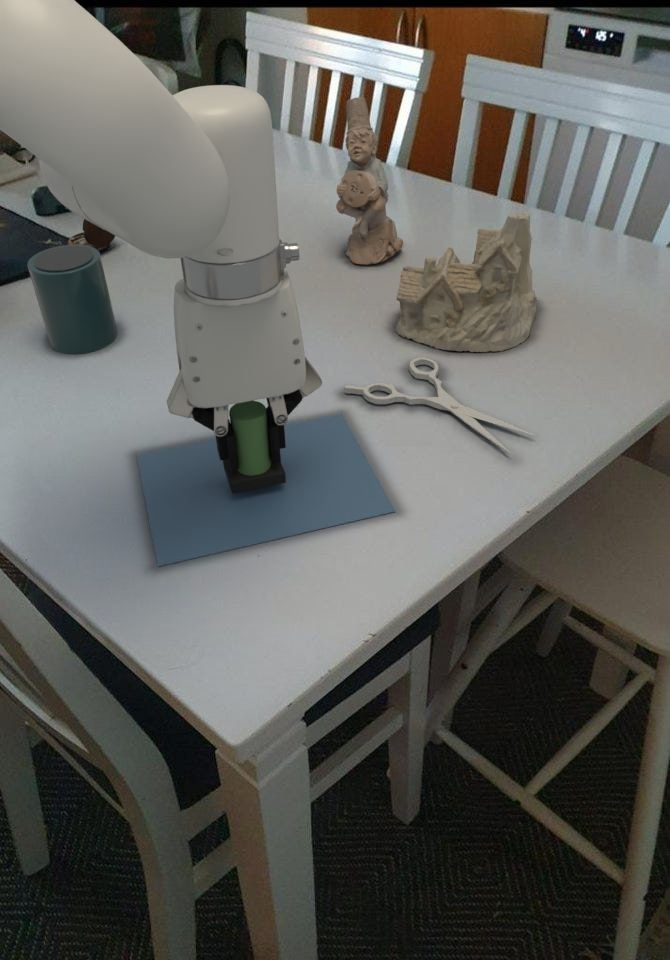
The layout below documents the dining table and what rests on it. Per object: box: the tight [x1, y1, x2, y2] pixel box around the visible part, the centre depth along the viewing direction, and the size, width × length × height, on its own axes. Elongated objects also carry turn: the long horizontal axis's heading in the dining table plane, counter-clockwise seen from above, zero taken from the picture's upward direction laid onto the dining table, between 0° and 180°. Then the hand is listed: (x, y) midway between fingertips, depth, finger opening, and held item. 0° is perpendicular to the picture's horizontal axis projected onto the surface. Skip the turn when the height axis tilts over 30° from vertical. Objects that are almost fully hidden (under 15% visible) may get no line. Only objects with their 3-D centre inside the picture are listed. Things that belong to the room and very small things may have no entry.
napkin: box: [136, 413, 396, 568], centre depth 75 cm, size 21×16×1 cm
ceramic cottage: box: [395, 211, 538, 353], centre depth 94 cm, size 16×16×15 cm
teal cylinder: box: [27, 244, 119, 355], centre depth 95 cm, size 8×8×10 cm
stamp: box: [223, 400, 286, 493], centre depth 72 cm, size 5×4×7 cm
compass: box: [65, 218, 116, 253], centre depth 115 cm, size 8×8×7 cm
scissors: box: [343, 357, 537, 457], centre depth 83 cm, size 11×1×20 cm
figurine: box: [335, 96, 404, 265], centre depth 107 cm, size 9×8×20 cm
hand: (252, 457), depth 73 cm, fingers closed on stamp, 3 cm apart
